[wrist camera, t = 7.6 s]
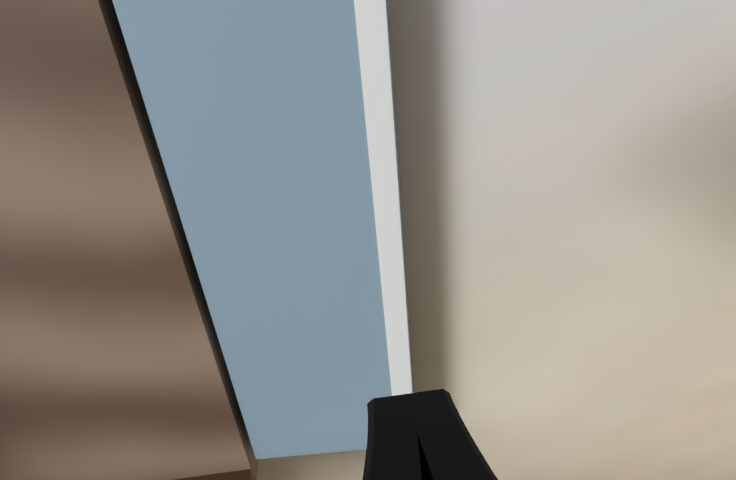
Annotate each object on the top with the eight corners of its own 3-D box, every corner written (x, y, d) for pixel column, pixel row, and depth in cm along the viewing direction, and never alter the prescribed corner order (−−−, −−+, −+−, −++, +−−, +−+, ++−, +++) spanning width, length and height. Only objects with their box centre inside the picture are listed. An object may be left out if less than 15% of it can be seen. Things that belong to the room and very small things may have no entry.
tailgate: (259, 436, 23) (414, 421, 23) (255, 460, 22) (417, 445, 22) (66, -212, 12) (368, -245, 12) (43, -216, 11) (371, -252, 11)
